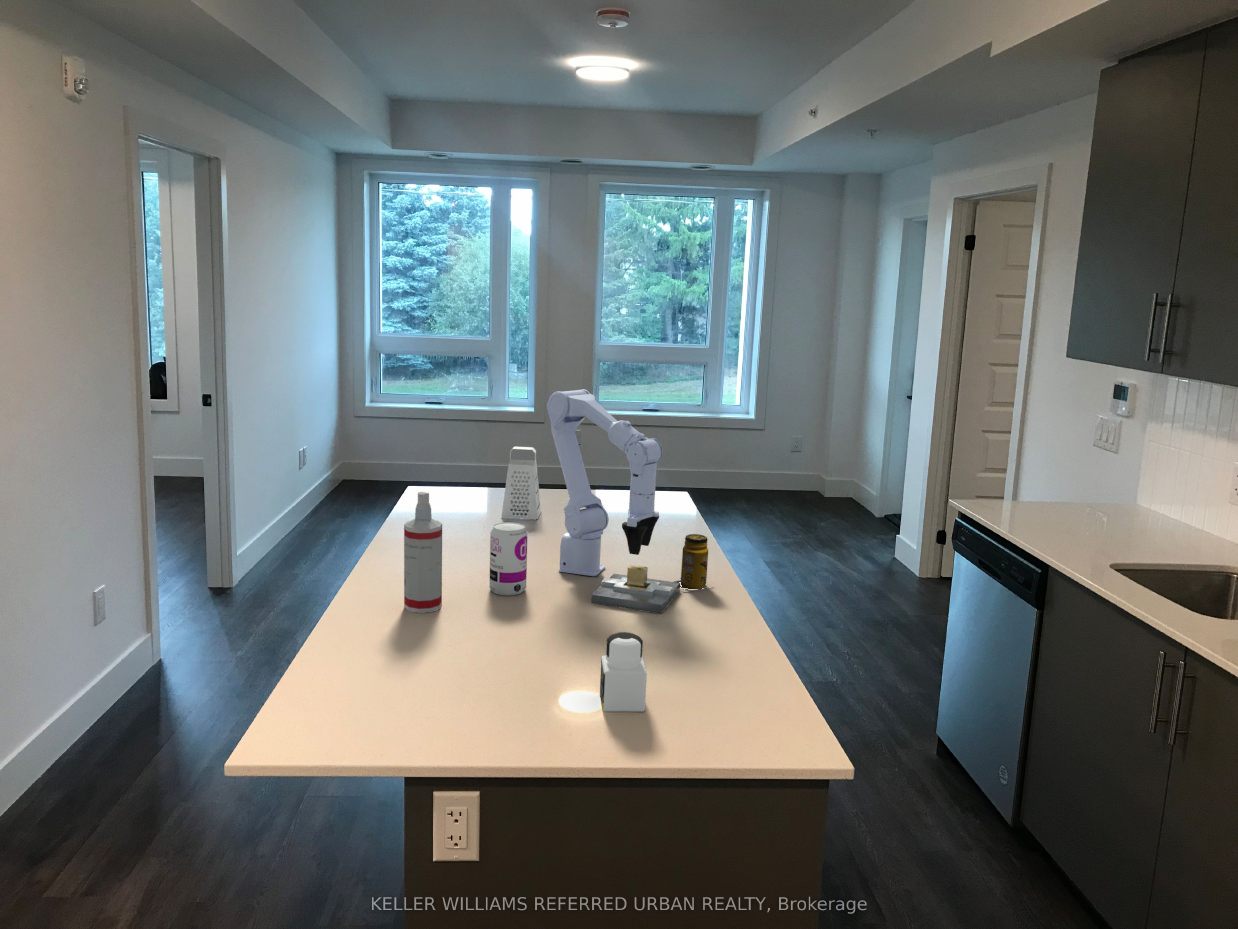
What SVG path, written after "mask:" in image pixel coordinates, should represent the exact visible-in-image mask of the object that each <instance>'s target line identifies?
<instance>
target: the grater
mask: <svg viewBox="0 0 1238 929" xmlns="http://www.w3.org/2000/svg"><path fill="white" fill-rule="evenodd" d="M513 450H529V451H530V450H531V451H532V452H533V453H534V459H533V460H532V459H531V460H529V459H512V451H513ZM508 461H509V462H508V466H507V472H506V473H507V474H506V482H505V487H504V496H503V502H502V503H503V504H502V510H501V519H507V518H523V519H522V520H529V519H538V520H539V517H540V515H541V512H540V511H542V509H541V508H542V507H541V497H540V485H539V477H538V476H539V475H538V474H539V473H538V465H537V464H538V462H537V450H536V448H534V447H532V446H513V447H512V448H511V450H510V451H509V459H508ZM511 509H513V510H511ZM514 509H517V510H514ZM518 509H521V510H518ZM522 509H523V510H522ZM513 513H514V514H513ZM517 513H518V514H517ZM521 514H522V515H521ZM525 514H526V515H525ZM538 516H539V517H538Z"/></svg>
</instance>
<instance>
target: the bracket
mask: <svg viewBox="0 0 1238 929" xmlns="http://www.w3.org/2000/svg"><path fill="white" fill-rule="evenodd" d="M600 586H607V587H613V591H620V592H627V593H633V594H640V595H647V596H652V595H653V594H654V593H655V594H661V595H668V596H670V594H671V593H672V592H673V587H667V586H661V585H660V582H653V581H647V588H639V587H632V586H627V578H625V577H622V578H621V579H620V580H619V579H612V578H610V577H604V578H603V579H602V580H601V582H600Z"/></svg>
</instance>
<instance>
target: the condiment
mask: <svg viewBox="0 0 1238 929" xmlns="http://www.w3.org/2000/svg"><path fill="white" fill-rule="evenodd" d="M708 540H709V539H708V537H707V536H705V535H704V534H698V533H691V534H690V533H689V534H686V535H685V538H684V545H683V547H682V555H681V556H682V557H681V571H680V580H675V581H673V582H677V583H679V582H681V585H682V587H681V586H680V587H681V588H688V589H701V590H700V591H702V590H707V589H712V588H714V586H712V585H710V584H708V583H707V577H708V564H709V563H708V561H709V548H708ZM702 588H704V589H702ZM705 588H707V589H705ZM688 589H685V590H684V589H680V591H681V592H683V593H690V592H695V591H696V590H688Z"/></svg>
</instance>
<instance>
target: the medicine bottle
mask: <svg viewBox="0 0 1238 929" xmlns="http://www.w3.org/2000/svg"><path fill="white" fill-rule="evenodd" d="M643 644H644V641H643V639H642V638H641V637H640V636H639V635H638V634H635V633H632V632H627V631H619V632H615V633H612V634H610V635H609V636H608V637H607V638H606V649H605V650H606V653H605V654H606V655H602V656H601V659H600V678H599V679H600V680H599V682H600V683H599V684H600V685H599V696H600V703H601V710H602V712H605V713H606V712H611V713H613V712H617V713H618V712H619V713H621V712H622V713H623V712H626V713H627V712H628V713H629V712H632V713H635V712H636V713H637V712H638V713H641V712H642V713H643V712H645V710H646V695H647V676H648V673H647V669H646V666H645V665H646V664H645V662H644V658H643V647H644V646H643Z"/></svg>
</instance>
